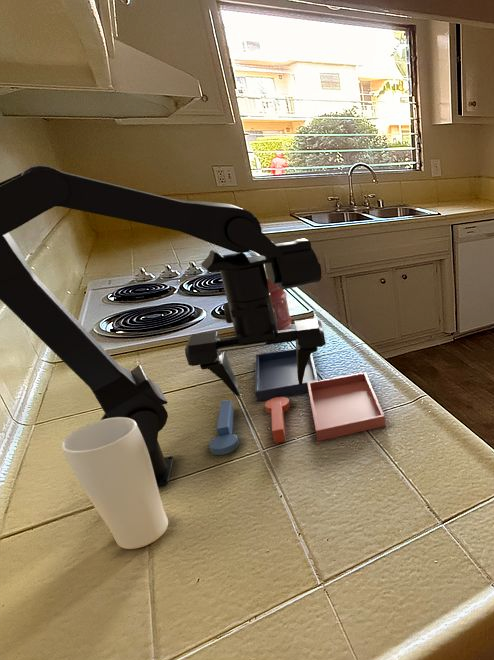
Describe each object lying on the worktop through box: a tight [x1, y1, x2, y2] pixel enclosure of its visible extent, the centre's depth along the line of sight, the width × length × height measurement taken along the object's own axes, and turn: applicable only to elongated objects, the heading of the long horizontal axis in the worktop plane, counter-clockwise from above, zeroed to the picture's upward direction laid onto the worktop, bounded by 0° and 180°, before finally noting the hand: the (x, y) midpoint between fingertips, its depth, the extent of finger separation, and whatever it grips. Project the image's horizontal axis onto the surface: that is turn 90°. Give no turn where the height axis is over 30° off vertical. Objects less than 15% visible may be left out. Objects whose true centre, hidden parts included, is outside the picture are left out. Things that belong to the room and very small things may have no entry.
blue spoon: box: [208, 399, 240, 456], centre depth 75 cm, size 13×4×2 cm, turn 23°
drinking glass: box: [60, 417, 169, 550], centre depth 53 cm, size 7×7×15 cm
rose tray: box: [307, 371, 387, 442], centre depth 82 cm, size 17×11×2 cm, turn 23°
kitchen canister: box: [264, 264, 292, 331], centre depth 111 cm, size 13×13×18 cm
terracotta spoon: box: [264, 396, 291, 444], centre depth 78 cm, size 13×4×2 cm, turn 23°
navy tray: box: [254, 348, 319, 402], centre depth 93 cm, size 17×11×2 cm, turn 23°
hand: (270, 389), depth 74 cm, fingers open, 9 cm apart
